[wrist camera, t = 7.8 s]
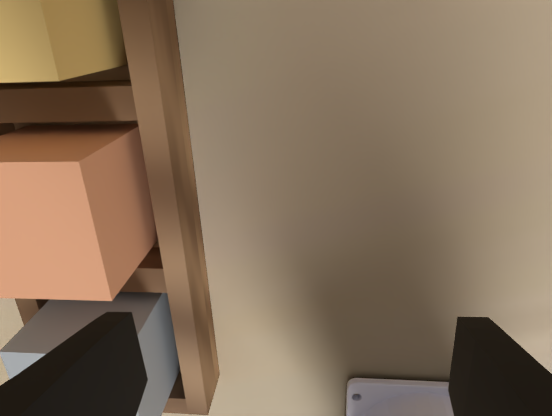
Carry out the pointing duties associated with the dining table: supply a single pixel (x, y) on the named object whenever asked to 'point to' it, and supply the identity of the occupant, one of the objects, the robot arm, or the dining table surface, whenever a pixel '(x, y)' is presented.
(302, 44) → the dining table surface
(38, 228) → the terracotta cube
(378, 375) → the dining table surface
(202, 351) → the frame
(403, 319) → the dining table surface
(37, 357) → the slate cube
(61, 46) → the ochre cube
